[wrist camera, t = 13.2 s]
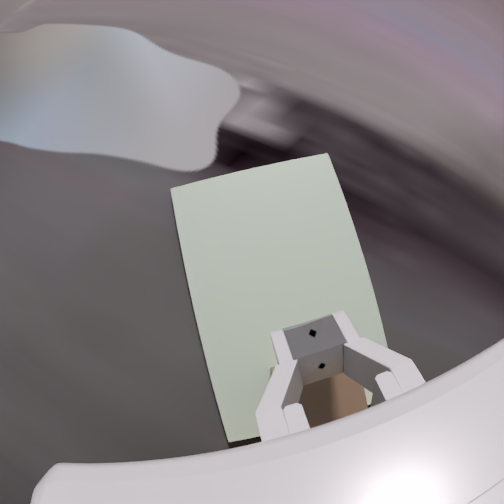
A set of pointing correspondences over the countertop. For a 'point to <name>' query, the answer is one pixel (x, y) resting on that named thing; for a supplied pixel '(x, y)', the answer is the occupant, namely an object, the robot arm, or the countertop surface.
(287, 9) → the countertop surface
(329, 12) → the countertop surface
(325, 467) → the robot arm
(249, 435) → the lid
